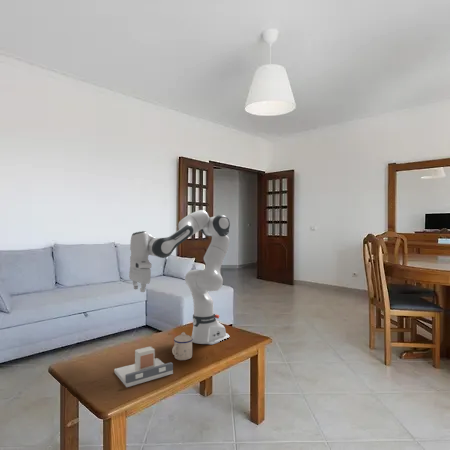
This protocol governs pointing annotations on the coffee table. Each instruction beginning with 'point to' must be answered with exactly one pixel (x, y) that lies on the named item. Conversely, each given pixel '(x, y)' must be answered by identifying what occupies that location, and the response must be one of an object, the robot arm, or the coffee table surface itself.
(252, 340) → the coffee table surface
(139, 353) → the product carton
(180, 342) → the teacup with lid
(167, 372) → the shelf board
